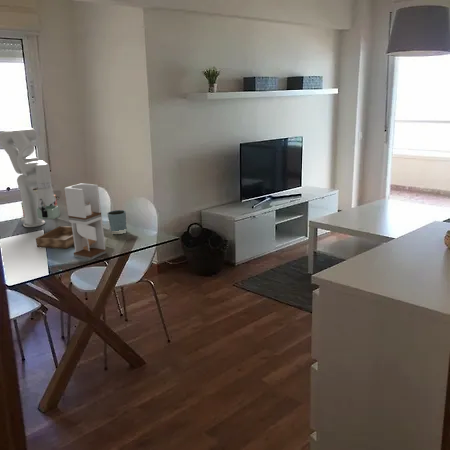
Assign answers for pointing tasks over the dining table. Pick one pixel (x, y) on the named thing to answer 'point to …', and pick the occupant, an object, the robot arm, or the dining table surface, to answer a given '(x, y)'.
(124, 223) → the blue grey cup
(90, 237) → the white tiered tower
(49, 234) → the oak crate
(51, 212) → the sage crate
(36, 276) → the dining table surface
